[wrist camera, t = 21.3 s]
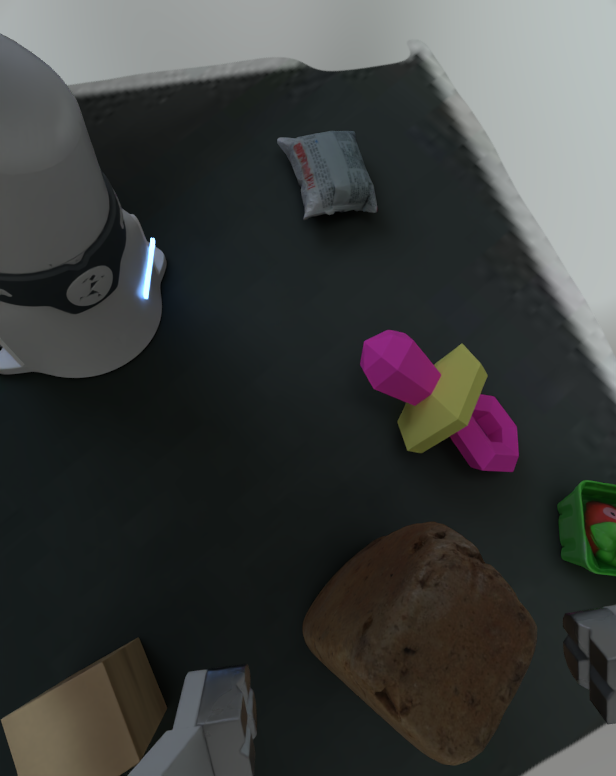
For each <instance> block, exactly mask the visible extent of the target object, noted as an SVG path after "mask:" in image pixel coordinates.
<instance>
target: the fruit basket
mask: <svg viewBox="0 0 616 776" xmlns="http://www.w3.org/2000/svg"><path fill="white" fill-rule="evenodd" d="M557 509H558V512H559V514H560V516H559V520H558V522H559V536H560V542H561V546H562V547H563V548H562V551H561V558H562V559H563V560H565V561H568V562H570V563H573V564H576V565H579V566H582V567H584V568H586V569H587V570H589V571H591V572H593V573H595V574H602V575H610V576H616V485H613V484H608V483H601V482H596V481H590V480H584V481H582V482H581V483H580V484H579V485H578V486H577V487H576V488H575V490H574V491H573V492H572V493H570V494H569V495H568V496H567V497H565V498H564V499H563V500H562V501H561V502H559V503H558V505H557Z"/></svg>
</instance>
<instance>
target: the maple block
mask: <svg viewBox="0 0 616 776" xmlns="http://www.w3.org/2000/svg"><path fill="white" fill-rule="evenodd" d="M166 710H167V706H166V704H165V701H164V699H163V696H162V694H161V691H160V689H159V686H158V684H157V681H156V679H155V676H154V674H153V671H152V669H151V666H150V664H149V661H148V659H147V656H146V654H145V651H144V649H143V646H142V644H141V641H140V639H139V637H138V638H136V639H134V640H133V641H131V642H129V643H127V644H126V645H124V646H122V647H120V648H119V649H117V650H115V651H114V652H112V653H110V654H108V655H107V656H105V657H103V658H101V659H100V660H98V661H96V662H94V663H93V664H91V665H89V666H87V667H86V668H84V669H82V670H80V671H79V672H77V673H75V674H73V675H72V676H70V677H68V678H66V679H65V680H63V681H62V682H60V683H58V684H57V685H55V686H54V687H52V688H50V689H49V690H47V691H46V692H44V693H42V694H41V695H39V696H38V697H36V698H34V699H33V700H31V701H30V702H28V703H26V704H25V705H23V706H22V707H20V708H18V709H17V710H15V711H14V712H12V713H10V714H9V715H7V716H6V717H4V718H2V719H1V722H2V725H3V728H4V731H5V735H6V738H7V741H8V744H9V747H10V750H11V754H12V757H13V760H14V763H15V766H16V770H17V773H18V776H119V775H121V774H122V773H124V772H126V771H127V770H129V769H130V768H132V767H133V766H135V765H136V764H138V763H139V762H140V761H141V759H142V757H143V755H144V753H145V751H146V749H147V747H148V745H149V743H150V741H151V739H152V737H153V736H154V734H155V732H156V730H157V728H158V726H159V724H160V722H161V720H162V718H163V716H164V714H165V712H166Z"/></svg>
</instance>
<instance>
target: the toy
mask: <svg viewBox="0 0 616 776" xmlns="http://www.w3.org/2000/svg"><path fill="white" fill-rule="evenodd" d="M360 366H361V367H362V369H363V371H364V373H365V374H366V376H367V378H368V380H369V381H370V383H371V385H372V387H373V388H374V389H375V390H377V391H380V392H382V393H385V394H387V395H390V396H392V397H394V398H397V399H399V400H402V401H404V402H406V404H405V407H404V409H403V411H402V413H401V415H400V417H399V419H398V421H397V422H398V425H399V428H400V431H401V434H402V437H403V440H404V442H405V445H406V448H407V451H412V452H417V453H423V452H425V451H426V450H428V449H430V448H431V447H433V446H435V445H436V444H438V443H439V442H441V441H443V440H444V439H446V438H448V437H450V438H451V439H452V441H453V442H454V444H455V445H456V447H457V448H458V450H459V451H460V452H461V454H462V455H463V457H464V458H465V460H466V461H467V463H468V464H469V466H470V467H472V468H475V469H479V470H482V471H502V472H513V471H514V468H515V465H516V462H517V460H518V457H519V452H518V437H517V426H516V425H515V424H514V422H513V421H512V420H511V418H510V417H509V415H508V414H507V413H506V411H505V410H504V409H503V407H502V406H501V405H500V403H499V402H498V401H497V399H496V398H495V397H494V396H488V395H482V394H480V393H481V391H482V388H483V386H484V383H485V381H486V378H487V376H488V375H487V374H486V372H485V370H484V368H483V366H482V365H481V363H480V362H479V361H478V360H477V359H476V358H475V357H474V356H473V355H472V354H471V352H470V351H469V350H468V349H467V348H466V347H465V346H464V345H463V344H461V345H459V346H458V347H457V348H455V349H454V350H453V351H451V352H450V353H449V354H447V355H446V356H445V357H443V358H442V359H441V360H439V361H438V362H437V363H436V364H434V365H433V364H432V362H431V361H430V360H429V359H428V358H427V356H426V355H425V354H424V353H423V351H422V350H421V349H420V348H419V347H418V345H417V344H416V343H415V342H414V340H412V339H411V338H410V337H409V336H408V335H407V334H405V333H402V332H397V331H392V330H386V331H384V332H382V333H380V334H378V335H376V336H374V337H372V338H370V339H368V340H366V341H364V345H363V350H362V356H361V362H360ZM475 420H476V421H477V422H476V421H475ZM478 424H479V425H480V426H479V425H478ZM481 428H482V429H483V430H482V429H481ZM483 431H484V432H485V433H484V432H483ZM486 435H487V436H486Z"/></svg>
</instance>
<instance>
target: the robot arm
mask: <svg viewBox="0 0 616 776" xmlns="http://www.w3.org/2000/svg"><path fill="white" fill-rule="evenodd" d="M166 265H167V261H166V258H165V256H164V254H163V252H162V251H161V250H160V249H158V248H157V247H155V240H154V238H151V240H150V243H149V242H148V241H146V238H145V236H144V233H143V230H142V228H141V225H140V223H139V221H138V219H137V218H136V216H135V215H133V214H129V213H127V212H126V211H125V210H123V209H122V208H121V205H120V203H119V200H118V197H117V196H116V193H115V192H114V190H113V188H112V186H111V184H110V182H109V180H108V179H107V177H106V176H105V175H104V173H103V172H102V171H101V170H100V167H99V164H98V161H97V159H96V156H95V153H94V150H93V147H92V144H91V141H90V138H89V135H88V132H87V129H86V126H85V123H84V120H83V117H82V114H81V111H80V108H79V105H78V103H77V101H76V99H75V97H74V95H73V94H72V92H71V91H70V89H69V88H68V86H67V85H66V84H65V82H64V81H63V80H62V79H61V78H60V76H59V75H57V73H56V72H55V71H54V70H53V69H52V68H51V67H50V66H49V65H47V64H46V63H45V62H43V61H42V60H41V59H40V58H38V57H37V56H36V55H34V54H33V53H32V52H30V51H28V50H27V49H26V48H24V47H22V46H21V45H19V44H18V43H17V42H15V41H14V40H12V39H10V38H8V37H6V36H4V35H2V34H0V347H2V350H1V351H0V374H18V373H26V372H40V373H45V374H49V375H53V376H58V377H65V378H84V377H92V376H97V375H101V374H104V373H107V372H110V371H113V370H115V369H117V368H119V367H121V366H123V365H125V364H126V363H128V362H129V361H131V360H132V359H134V358H135V357H136V356H137V355H138V354H139V353H141V352H142V351H143V350H144V348H145V347H146V346H147V345H148V344H149V342H150V341H151V339H152V338H153V336H154V334H155V332H156V330H157V328H158V326H159V322H160V319H161V313H162V299H161V291H160V283H161V281H162V278H163V275H164V273H165V270H166ZM563 628H564V629H565V630H566V632H567V633H568V636H567V637H566V639H565V640H564V642H563V647H564V656H565V659H566V662H567V665H568V667H569V669H570V671H571V673H572V675H573V677H574V678H575V679H576V681H577V682H578V684H580V685H582V686H583V687H585V688H587V689H589V690H590V701H591V702H592V703H593V705H594V706H595V707H596V709H597V710H598V712H599V713H600V714H601V716H602V717H603V718H604V720H605V721H606V723H607V724H613V723H616V605H611V606H606V607H603V608H595V609H589V610H583V611H577V612H571V613H565V615H564V617H563ZM250 678H251V676H250V671H249V667H248V665H247V664H241V665H233V666H225V667H218V668H210V669H207V670H198V671H190V672H188V674H187V675H186V677H185V681H184V685H183V689H182V693H181V697H180V701H179V705H178V709H177V713H176V717H175V722H174V726H173V730H170V731H166V732H165V733H164V734H163V736H162V737H161V738H160V739H159V740H158V741H157V742H156V744H155V745H154V746H153V747H152V748H151V749H150V750H149V752H148V753H147V754H146V755H145V756H144V757H143V758H142V760H141V761H140V762H139V763H138V764H137V765H136V766H135V768H134V769H133V770H132V771H131V772H130V773H129V774H128V776H254V768H255V748H254V743H253V739H254V738H255V736H256V734H257V709H256V701H255V695H254V691H253V690H252V689H251V688H250Z"/></svg>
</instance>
